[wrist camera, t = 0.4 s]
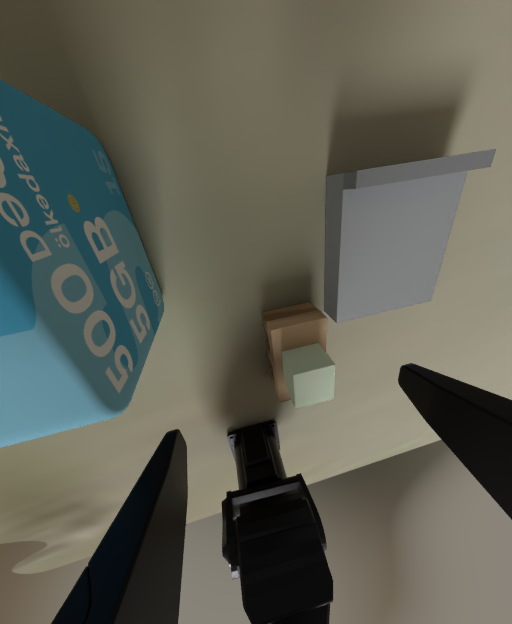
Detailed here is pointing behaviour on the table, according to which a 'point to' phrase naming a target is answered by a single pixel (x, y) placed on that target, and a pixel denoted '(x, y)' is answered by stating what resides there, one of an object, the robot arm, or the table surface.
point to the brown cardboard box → (291, 337)
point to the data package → (66, 277)
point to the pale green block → (308, 375)
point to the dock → (390, 232)
